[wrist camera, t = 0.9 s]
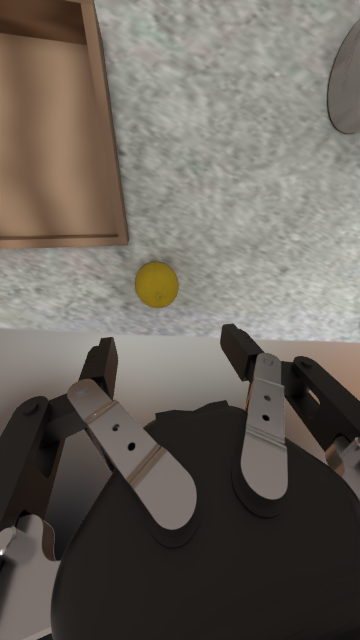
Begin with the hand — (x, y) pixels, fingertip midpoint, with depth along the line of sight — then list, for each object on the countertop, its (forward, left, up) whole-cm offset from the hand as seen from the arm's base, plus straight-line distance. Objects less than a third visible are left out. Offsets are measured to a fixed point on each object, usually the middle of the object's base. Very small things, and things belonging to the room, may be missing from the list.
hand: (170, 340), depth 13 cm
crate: (+11, -13, -16) cm, 23 cm away
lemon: (0, 0, -16) cm, 16 cm away
